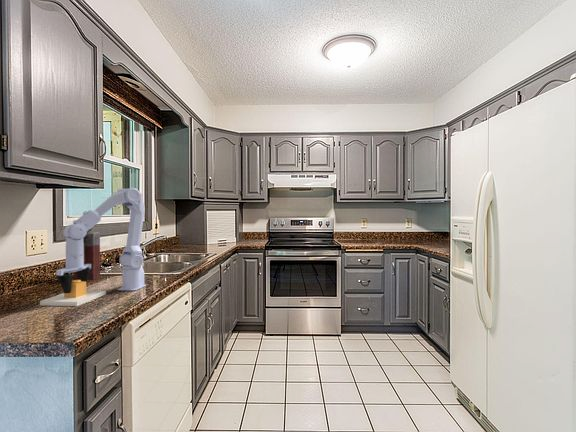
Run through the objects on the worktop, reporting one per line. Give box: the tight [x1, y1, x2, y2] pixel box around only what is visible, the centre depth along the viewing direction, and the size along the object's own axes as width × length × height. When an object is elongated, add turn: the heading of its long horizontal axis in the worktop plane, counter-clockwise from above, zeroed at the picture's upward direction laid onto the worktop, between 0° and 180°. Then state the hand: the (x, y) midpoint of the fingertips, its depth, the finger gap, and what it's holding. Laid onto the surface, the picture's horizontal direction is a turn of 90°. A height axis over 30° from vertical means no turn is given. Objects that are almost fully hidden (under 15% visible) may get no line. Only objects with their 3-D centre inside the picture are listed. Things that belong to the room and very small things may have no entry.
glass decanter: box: [73, 226, 101, 281], centre depth 157 cm, size 9×11×28 cm
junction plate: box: [39, 289, 107, 307], centre depth 120 cm, size 16×14×5 cm
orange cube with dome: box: [63, 279, 87, 298], centre depth 119 cm, size 5×5×6 cm
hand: (74, 290), depth 120 cm, fingers open, 7 cm apart
